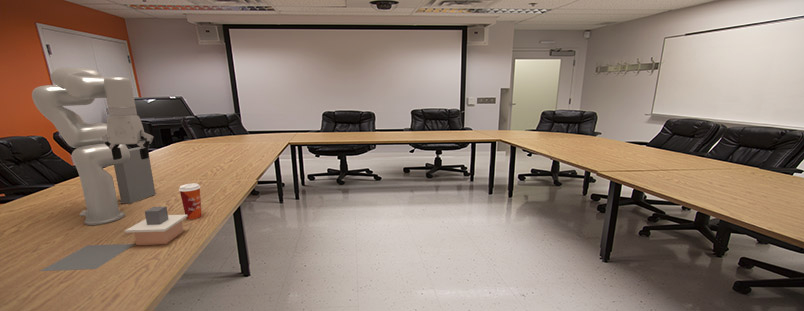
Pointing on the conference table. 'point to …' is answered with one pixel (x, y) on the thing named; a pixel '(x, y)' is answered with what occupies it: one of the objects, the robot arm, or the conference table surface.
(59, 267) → the mat
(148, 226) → the cover
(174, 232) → the open box
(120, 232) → the conference table surface
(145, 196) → the tall grey upright block
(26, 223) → the conference table surface
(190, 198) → the paper cup
